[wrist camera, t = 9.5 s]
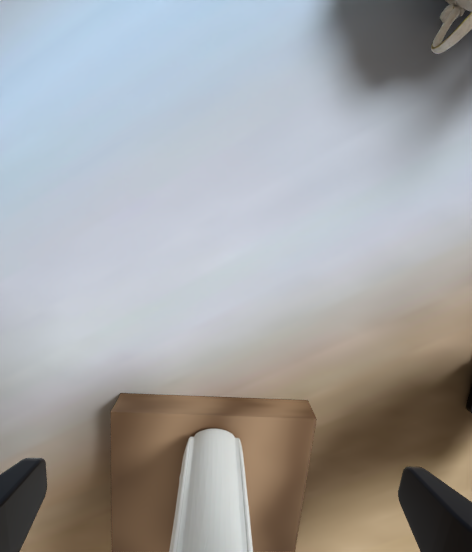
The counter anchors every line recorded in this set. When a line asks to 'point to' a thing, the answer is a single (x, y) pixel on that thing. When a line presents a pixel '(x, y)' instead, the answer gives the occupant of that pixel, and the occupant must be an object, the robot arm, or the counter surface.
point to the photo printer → (212, 496)
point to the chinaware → (457, 5)
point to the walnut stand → (169, 454)
